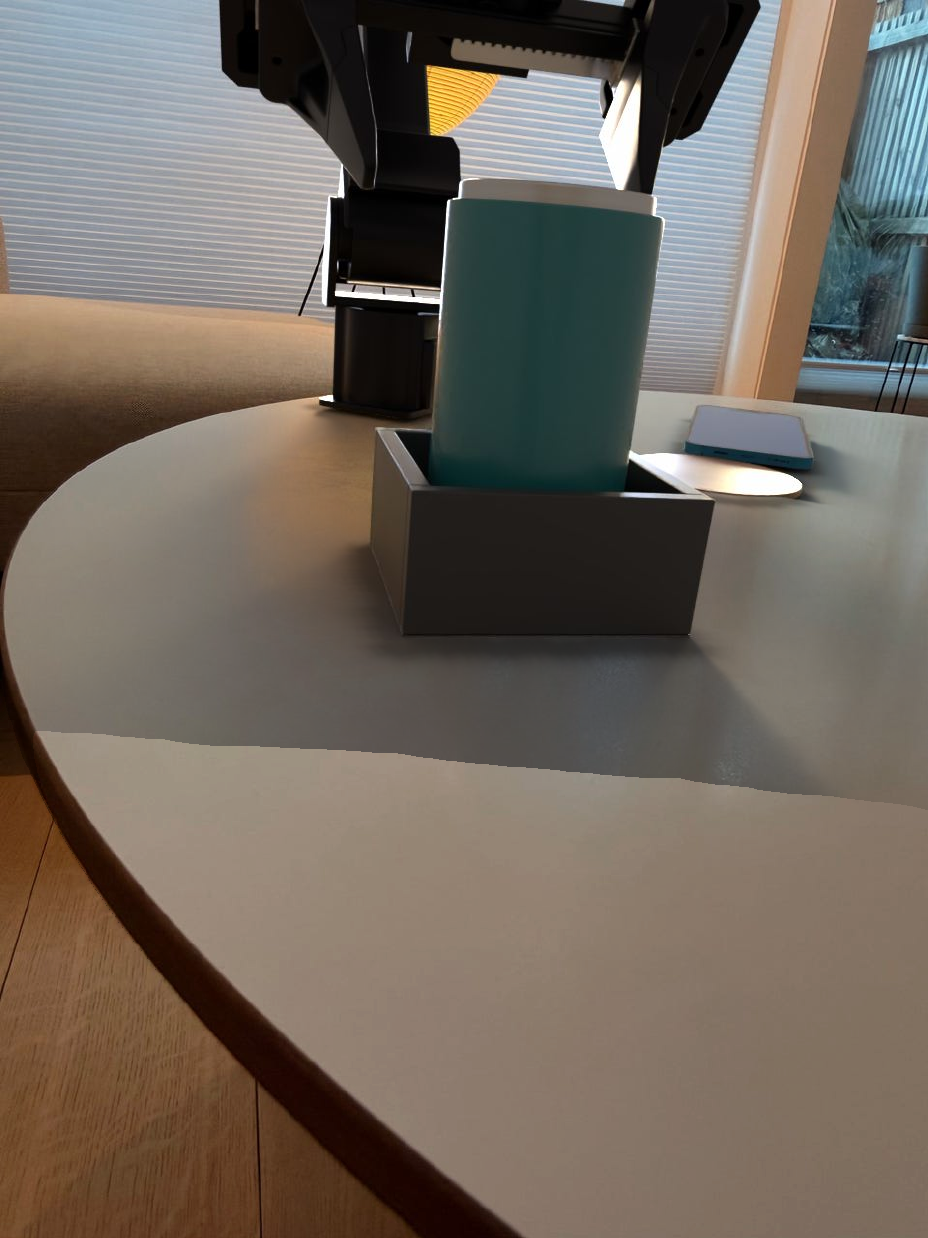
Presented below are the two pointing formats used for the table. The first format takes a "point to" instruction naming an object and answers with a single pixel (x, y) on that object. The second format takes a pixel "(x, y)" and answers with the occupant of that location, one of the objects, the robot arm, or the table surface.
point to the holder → (534, 552)
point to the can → (542, 334)
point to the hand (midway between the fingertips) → (509, 192)
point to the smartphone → (749, 437)
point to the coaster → (727, 475)
